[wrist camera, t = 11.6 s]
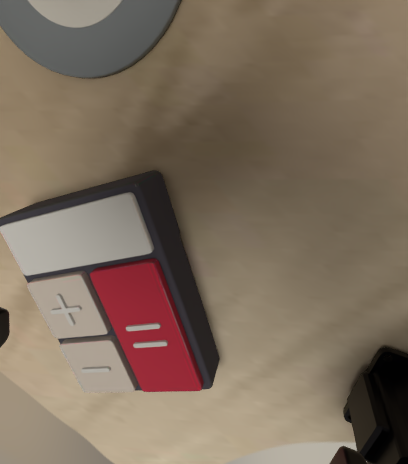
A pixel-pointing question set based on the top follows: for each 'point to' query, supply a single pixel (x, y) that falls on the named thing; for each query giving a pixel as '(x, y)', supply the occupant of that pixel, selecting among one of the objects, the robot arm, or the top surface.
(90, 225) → the calculator
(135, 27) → the coaster
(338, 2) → the top surface
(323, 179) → the top surface
